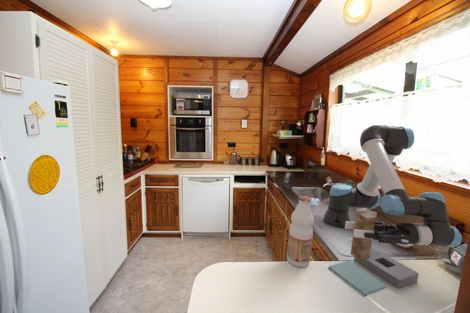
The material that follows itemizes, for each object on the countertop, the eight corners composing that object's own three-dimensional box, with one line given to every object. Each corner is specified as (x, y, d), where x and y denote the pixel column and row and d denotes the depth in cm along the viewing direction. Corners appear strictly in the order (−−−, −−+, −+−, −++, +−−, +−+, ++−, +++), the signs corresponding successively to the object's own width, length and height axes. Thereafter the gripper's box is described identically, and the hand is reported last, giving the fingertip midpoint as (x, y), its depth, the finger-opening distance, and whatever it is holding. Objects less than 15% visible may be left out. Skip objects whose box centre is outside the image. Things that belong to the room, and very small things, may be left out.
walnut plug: (349, 253, 87) (356, 209, 84) (358, 251, 89) (365, 207, 86) (361, 260, 83) (368, 213, 80) (369, 258, 84) (377, 212, 82)
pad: (328, 268, 92) (328, 266, 92) (349, 262, 97) (349, 260, 97) (364, 296, 77) (364, 293, 77) (386, 288, 82) (387, 285, 82)
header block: (354, 261, 98) (355, 252, 97) (372, 256, 103) (373, 248, 102) (397, 290, 82) (399, 280, 81) (416, 282, 87) (418, 273, 86)
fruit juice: (283, 262, 94) (290, 197, 90) (289, 252, 102) (296, 192, 98) (306, 271, 89) (315, 203, 85) (311, 259, 97) (319, 196, 93)
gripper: (431, 257, 75) (361, 252, 75) (393, 231, 94) (337, 227, 94) (436, 236, 74) (365, 231, 74) (396, 214, 93) (339, 209, 93)
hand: (349, 228), depth 84 cm, fingers closed on walnut plug, 6 cm apart
